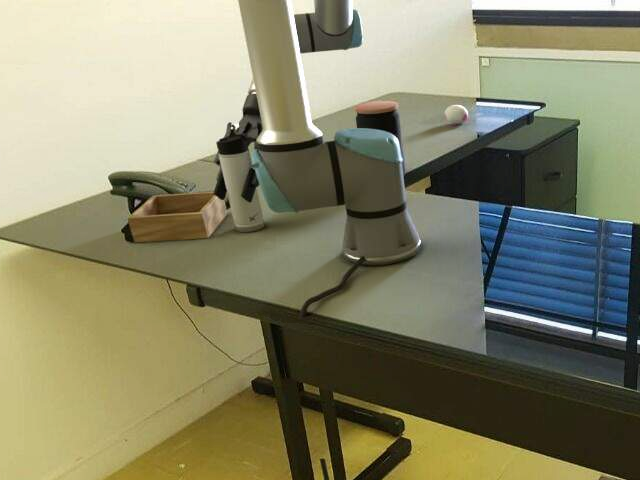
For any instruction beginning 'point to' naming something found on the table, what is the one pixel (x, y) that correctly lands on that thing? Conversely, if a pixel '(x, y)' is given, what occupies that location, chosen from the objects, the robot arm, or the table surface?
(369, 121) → the coffee jar
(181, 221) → the crate
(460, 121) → the stress ball
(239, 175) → the travel mug
